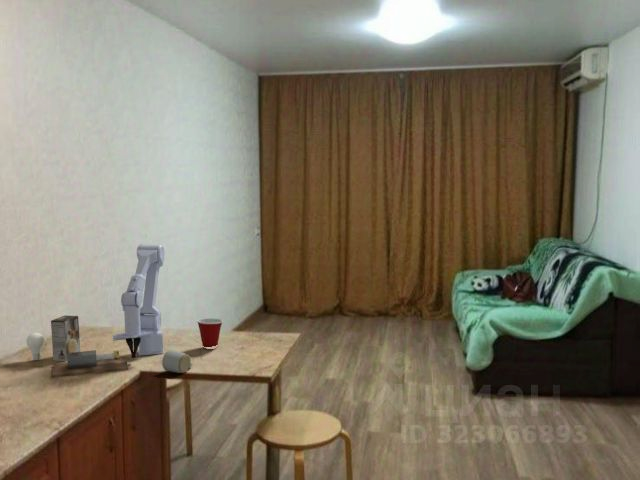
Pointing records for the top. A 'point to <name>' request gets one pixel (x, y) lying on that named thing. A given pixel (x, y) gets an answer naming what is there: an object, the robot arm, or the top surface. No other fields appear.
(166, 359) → the ceramic mug
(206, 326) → the plastic cup
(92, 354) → the block
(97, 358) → the shaft
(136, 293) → the robot arm
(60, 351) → the coffee box
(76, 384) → the top surface
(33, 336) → the lightbulb
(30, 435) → the top surface
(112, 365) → the base board
